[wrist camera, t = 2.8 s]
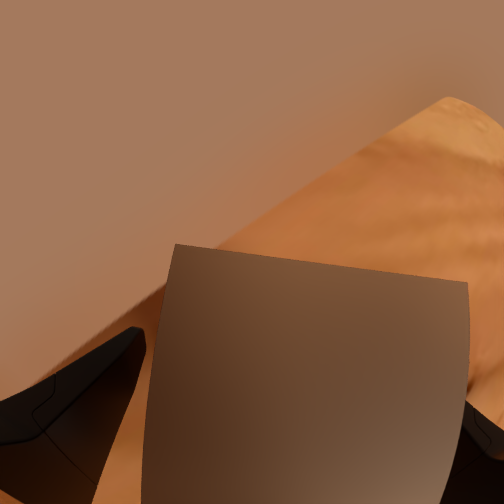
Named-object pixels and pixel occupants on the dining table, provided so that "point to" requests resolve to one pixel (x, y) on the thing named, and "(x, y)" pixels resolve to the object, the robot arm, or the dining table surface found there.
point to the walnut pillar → (303, 383)
